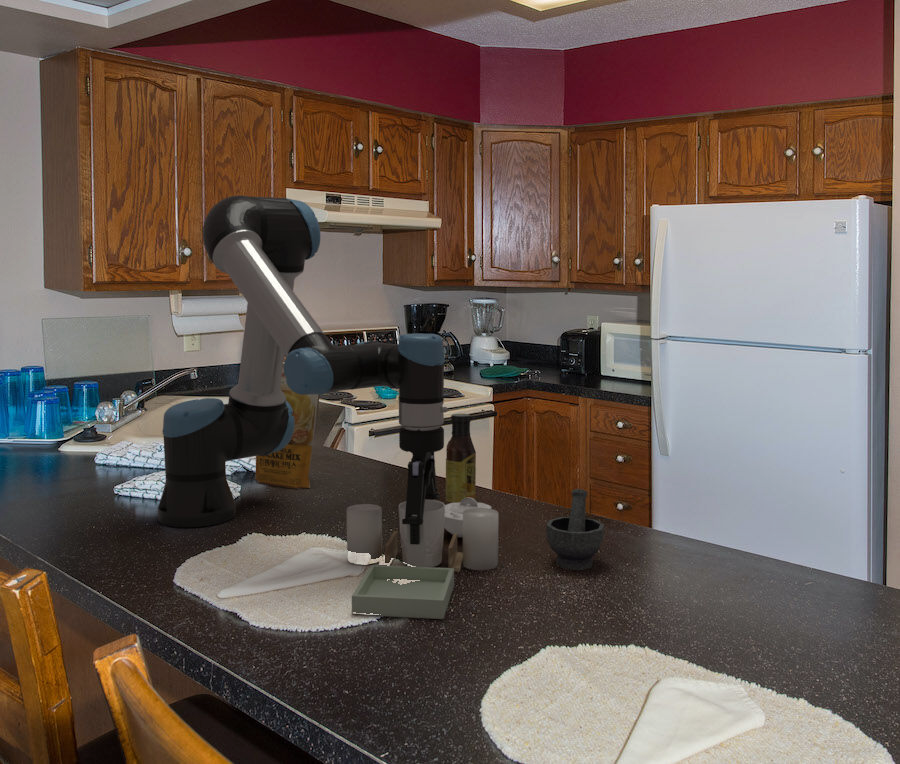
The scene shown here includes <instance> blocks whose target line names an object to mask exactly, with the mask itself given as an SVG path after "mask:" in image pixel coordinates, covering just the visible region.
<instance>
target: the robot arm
mask: <svg viewBox="0 0 900 764" xmlns="http://www.w3.org/2000/svg"><path fill="white" fill-rule="evenodd" d="M202 225H203V226H202V242H203V246H204V250H205V252H206V254H207V255H208V258H209V259H210V260H211V262H212V264H213V265H214V267H215V268H216V269H217V270H218V271H219V272H222V273H225V274H227V275H228V276H229V278H230V279H231V281H232V282H233V284H234V285H235V286H236V288H237V289H238V291H239V292H240V293H241V295H242V296H243V297H244V299H245V300H246V302H247V304H246V314H245V320H244V321H245V323H244V328H243V329H244V330H243V340H242V348H241V356H240V357H241V358H240V365H239V374H238V382H237V384H236V385H234V386H233V387H232V388H231V389H230V390H229V395H228V402H227V403H224V402H223V400H222V399H219V398H215V397H214V398H213V397H212V398H211V397H209V398H208V397H206V398H205V397H204V398H200V399H198V398H197V399H192V400H186V401H182V402H179V403H176V404H173V405H172V406H170V407H169V408H167V409H166V410H165V411H164V413H163V423H162V431H161V432H162V435H163V452H164V453H163V454H164V456H163V457H164V470H165V471H164V472H165V482H164V486H163V489H162V493H161V497H160V499H159V500H160V501H159V503H158V507H157V521H158V522H159V524H162V525H164V526H169V527H175V528H199V527H207V526H208V527H209V526H214V525H215V526H216V525H218V524H223V523H225V522H228V521H230V520H232V519H234V518H235V517H236V515H237V505H236V501H235V498H234V496H233V493H232V491H231V488H230V486H229V482H228V480H227V474H226V473H227V472H226V465H227V464H226V463H227V462H230V461H236V460H241V459H245V458H246V459H247V458H252V457H256V456H259V455H261V456H264V455H268V454H270V453H273V452H277V451H280V450H281V449H283V448H284V447H286V445H287V444H288V443H289V441H290V440H291V437H292V435H293V431H294V425H295V420H294V416H292V413H293V410H292V407H291V405H290V404H289V403H288V402H287V401H286V395H285V394H284V393H283V392H282V391H281V389H280V385H281V378H282V370H283V364H284V376H286V383H287V385H288V387H289V388H290V389H291V390H292V391H293V392H295V393H297V394H300V395H312V394H314V395H315V394H317V395H320V396H321V395H323V394H324V395H325V394H327V393H334V392H341V391H349V390H350V391H352V390H360V389H366V388H376V387H387V388H394V389H398V391H399V392H398V394H399V395H398V423H399V425H400V426H401V427H400V428H399V432H398V433H399V435H398V436H399V437H398V439H399V440H398V441H399V446H398V447H399V448H400V450H401V451H403V452H406V453H408V452H409V453H411V455H412V457H411V459H410V461H409V462H408V464H407V486H406V512H405V519H402V524H407V562H412V563H424V523H423V514H424V504H425V499H428V500H436V501H440V498H441V497H440V495H441V494H440V493H437V492H438V488H437V487H438V486H437V473H436V459H435V453H436V452H440V451H441V450H443V449H444V448H445V429H444V428H443V426H442V425H443V424H444V420H445V419H444V417H445V416H444V415H445V414H444V413H447V412H448V408H447V407H448V406H443V405H444V404H445V403H444V402H445V399H444V398H445V396H444V394H445V393H444V391H445V390H444V389H445V386H444V385H445V363H446V362H445V361H446V358H445V350H444V339H443V338H442V337H441V335H439V334H435V333H405V334H401V335H400V336H399V338H398V344H397V343H387V342H380V341H379V340H378V341H375V340H372V341H361V342H358V343H357V344H349V345H345V344H344V345H334V344H333V343H332V342H331V340H330V338H328V336H327V335H326V334H325V332H324V331H323V330H322V328H321V327H320V326H319V324H318V323H317V321H316V320H315V319H314V318H313V316H312V315H311V313H310V312H309V311H308V310H307V307H306V306H304V303H302V301H301V300H300V299H299V296H297V295H296V293H295V292H294V286H295V280H296V279H297V277H298V276H300V275H302V274H303V273H304V271H305V262H306V261H307V260H310V259H311V258H313V257H314V256H315V255H316V253H318V251H319V248H320V244H321V227H320V224H319V221H318V218H317V217H316V215H315V212H314V210H313V208H311V207H310V205H308V204H307V203H306V202H304V201H301V200H298V199H291V198H287V197H271V196H268V197H267V196H265V197H264V196H249V195H241V194H240V195H232V196H229V197H228V196H227V197H225V198H222V199H221V200H219V201H218V202H216V203H215V204H213V207H211V208H210V210H209V211H208V213H207V215H206V217H205V218H204V222H203V224H202ZM412 515H417V516H412Z"/></svg>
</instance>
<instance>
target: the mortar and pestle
mask: <svg viewBox="0 0 900 764" xmlns="http://www.w3.org/2000/svg"><path fill="white" fill-rule="evenodd" d="M571 496H572V498H571V506H570V512H569V513H570V514H569V516H560V517H556V518H551V519H549V520H548V521H547V523H546V526H545V527H546V529H545V530H546V531H545V533H546V539H547V540H546V541H547V543H548V545H549V547H550V549H551V550H552V551H553V552H554V553H555V554H556V555H557V557H556V561H555V562H556V563H555V564H556V565H557V566H558V567H560V568H562V569H566V570H569V571H570V570H572V571H579V570H580V571H585V570H586V569H590V568H592V566H593V564H594V561H593V557H594V555H596V554H597V553H598V551H599V549H600V547H601V545H602V543H603V538H604V533H605V524H604V523H603V522H601V521H599V520H597V519H595V518H594V519H593V518H589V517H588V518H587V517H586V510H587V509H586V503H587V500H586V499H587V497H588V491H587V490H585V489H582V488H575V489H573V490H571Z"/></svg>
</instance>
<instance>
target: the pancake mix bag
mask: <svg viewBox="0 0 900 764" xmlns="http://www.w3.org/2000/svg"><path fill="white" fill-rule="evenodd" d="M280 389H281V391H282V392H283V393H284V394H285V395H286V401H287V402H288V403H289V404H290V405H291V407H292V410H293V413H292V416H294V420H295V425H294V431H293V435H292V437H291V440H290V441H289V443H288V444H287V445H286V447H284V448H283V449H281V450H280V451H277V452H273V453H270V454H268V455H264V456H261V455H259V456H255V473H254V474H255V475H254V478H253V479H254V480H255V481H257V482H258V484H263V485H268V486H272V487H273V486H274V487H281V488H282V487H283V488H286V489H293V490H301V489H311V482H310V477H309V474H310V468H311V463H312V462H311V461H312V458H313V457H312V456H313V448H314V447H313V446H314V440H315V433H316V428H317V427H316V426H317V419H318V416H319V404H320V396H321V394H320V395H317V394H315V395H314V394H312V395H300V394H297V393H295V392H293V391H292V390H291V389H290V388H289V387H288V385H287V383H286V376H284V363H283V370H282V378H281V385H280Z"/></svg>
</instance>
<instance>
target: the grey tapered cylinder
mask: <svg viewBox="0 0 900 764" xmlns="http://www.w3.org/2000/svg"><path fill="white" fill-rule="evenodd" d="M382 513H383V509H382V507H381V506H379V505H378V504H371V503H359V504H354V505H350V506H348V507H347V508H346V551H347V550H348V551H351V552H356V553H369V554H370V555H371V559H376V558H379V557H380V556H382V557H383V514H382Z"/></svg>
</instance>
